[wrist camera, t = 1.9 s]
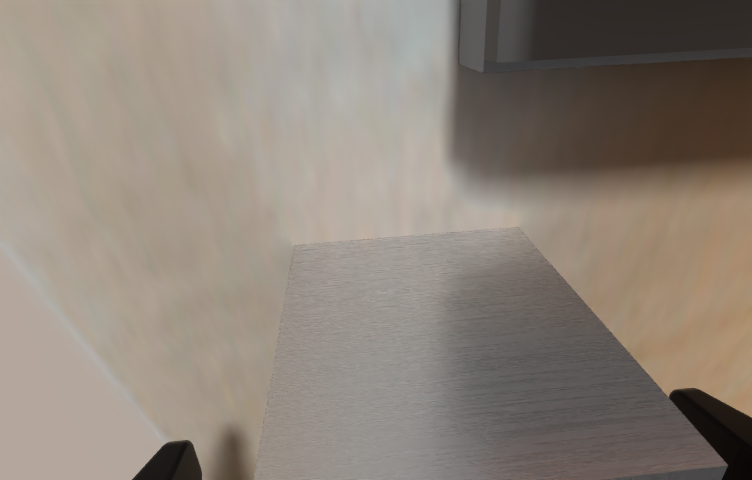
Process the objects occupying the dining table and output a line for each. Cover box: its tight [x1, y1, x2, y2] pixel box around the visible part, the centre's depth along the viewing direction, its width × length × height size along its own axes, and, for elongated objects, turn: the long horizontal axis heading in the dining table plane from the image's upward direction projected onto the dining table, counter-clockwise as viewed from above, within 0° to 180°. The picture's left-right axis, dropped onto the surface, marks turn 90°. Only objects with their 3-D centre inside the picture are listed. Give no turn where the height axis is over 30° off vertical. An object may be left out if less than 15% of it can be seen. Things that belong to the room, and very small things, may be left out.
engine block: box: [254, 227, 728, 480], centre depth 8 cm, size 5×5×6 cm
